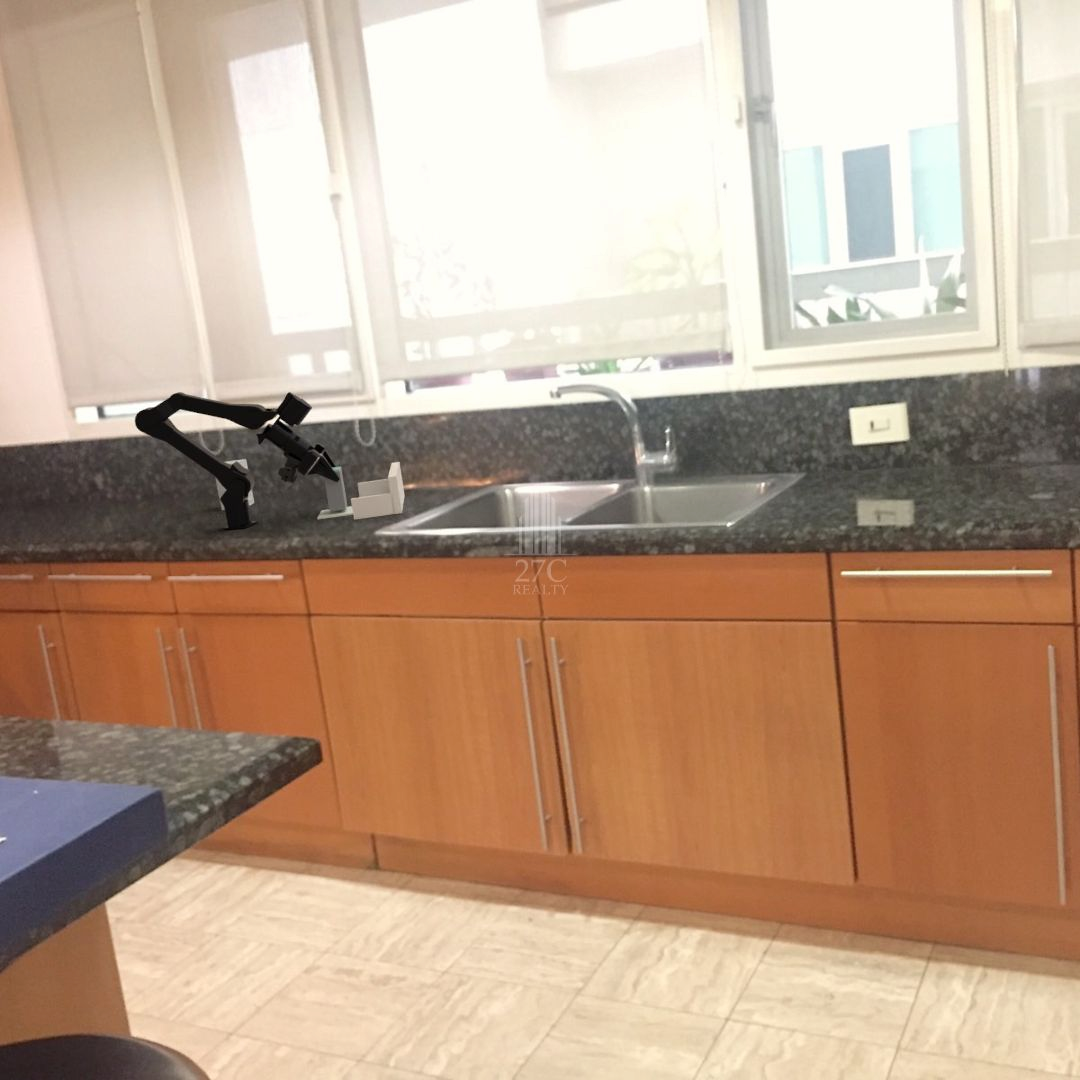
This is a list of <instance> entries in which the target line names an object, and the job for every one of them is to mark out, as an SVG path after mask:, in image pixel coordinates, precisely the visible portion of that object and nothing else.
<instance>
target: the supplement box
mask: <svg viewBox="0 0 1080 1080" xmlns="http://www.w3.org/2000/svg"><path fill="white" fill-rule="evenodd" d="M236 461H237V462H238V463H240V464H241V465H242V466H243V467H244V468H246V469H249V467H248V462H247V459H246V458H243V459H236V460H227V461H224V462H225V463H228V464H231V465H232V464H233V463H235V462H236ZM214 477H215V476H214ZM215 484H216V489H217V495H218V497H219V498H218V499H219V503H220V509H221V511H225V508H224V506H223V504H222V502H221V500H220V498H221V497H222V495H223V494H224V493H225V491H226V489H225V488H224V487H223V486H222V485H221V484H220V482H219V481H218V480H217V478H216V477H215ZM253 493H254V492H253V489H252V490H251V491H250V492H249V494H248V498H247V499H248V502H249V507H250V506H252V505H253V504H255V500H254V494H253Z"/></svg>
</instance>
